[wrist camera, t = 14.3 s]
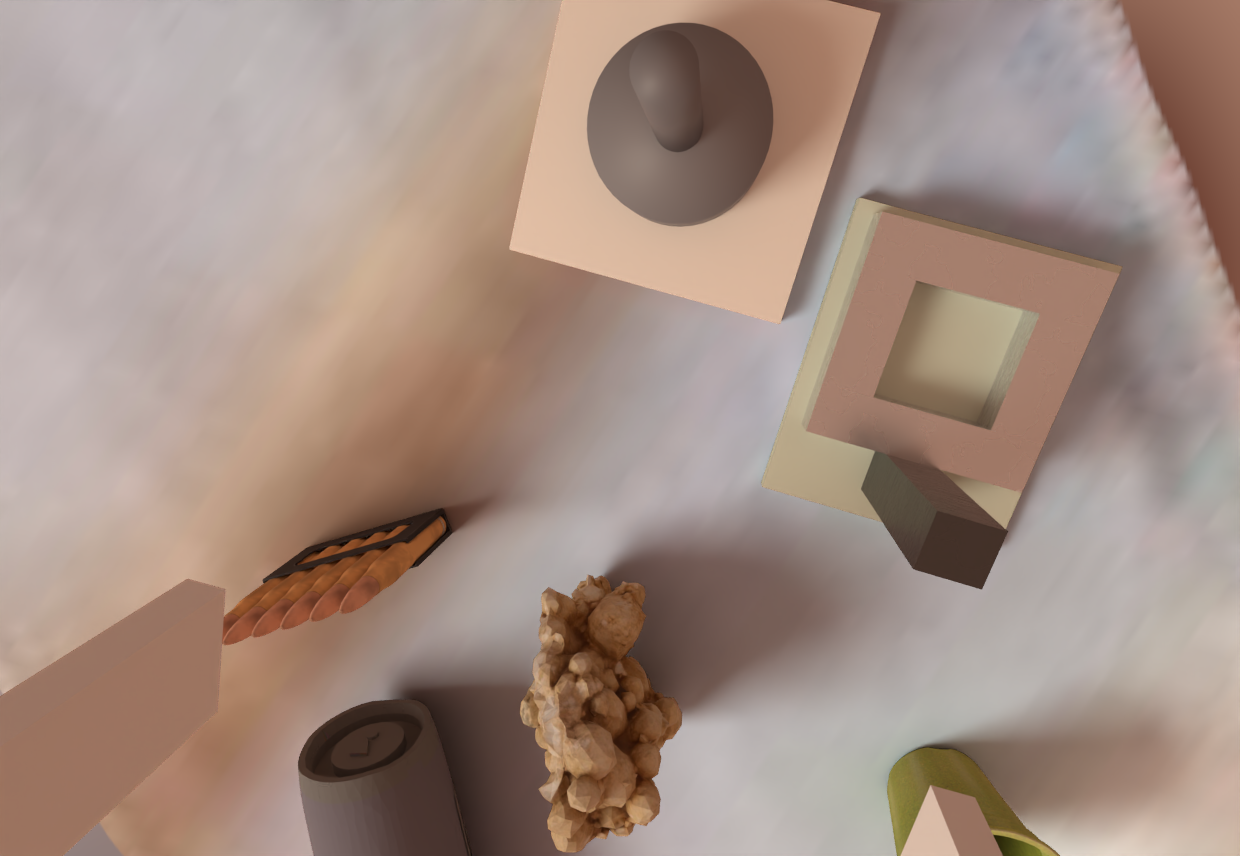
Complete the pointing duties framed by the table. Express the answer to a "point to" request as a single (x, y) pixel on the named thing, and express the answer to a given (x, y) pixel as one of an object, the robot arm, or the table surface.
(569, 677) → the mineral formation
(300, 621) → the ammunition clip
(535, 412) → the table surface
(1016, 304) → the pink square frame
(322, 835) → the bluetooth speaker
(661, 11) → the stand
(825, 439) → the mat
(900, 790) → the plant pot
